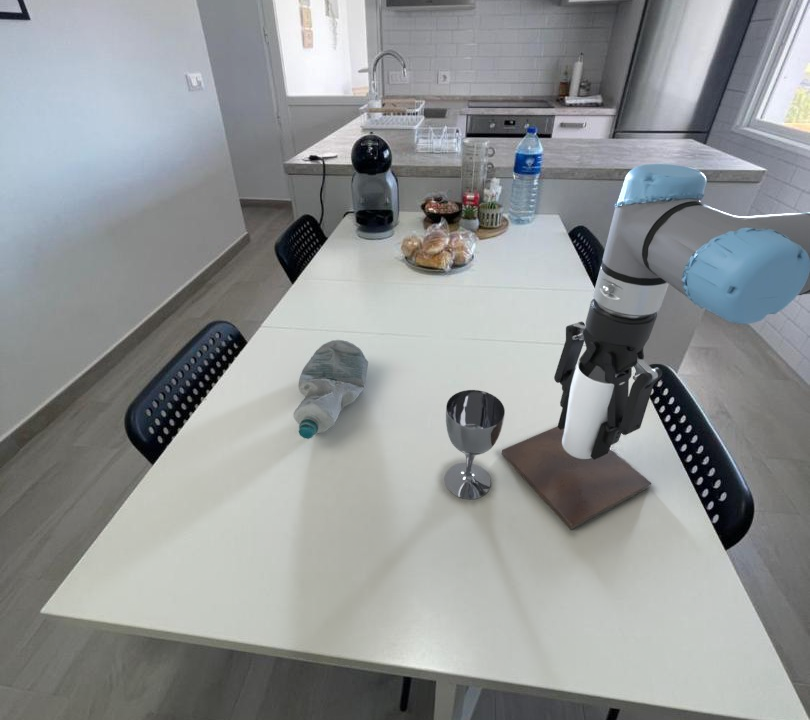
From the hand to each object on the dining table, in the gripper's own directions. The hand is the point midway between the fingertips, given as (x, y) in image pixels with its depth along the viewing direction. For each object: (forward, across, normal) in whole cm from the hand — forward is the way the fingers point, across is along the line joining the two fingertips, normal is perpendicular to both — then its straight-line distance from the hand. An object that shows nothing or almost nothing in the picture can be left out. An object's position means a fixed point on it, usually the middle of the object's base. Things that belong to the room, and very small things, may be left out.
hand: (581, 439), depth 67 cm
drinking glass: (+2, 0, 0) cm, 2 cm away
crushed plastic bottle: (+7, -34, -29) cm, 45 cm away
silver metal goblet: (+7, -6, -16) cm, 18 cm away
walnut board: (+7, 0, 0) cm, 7 cm away
